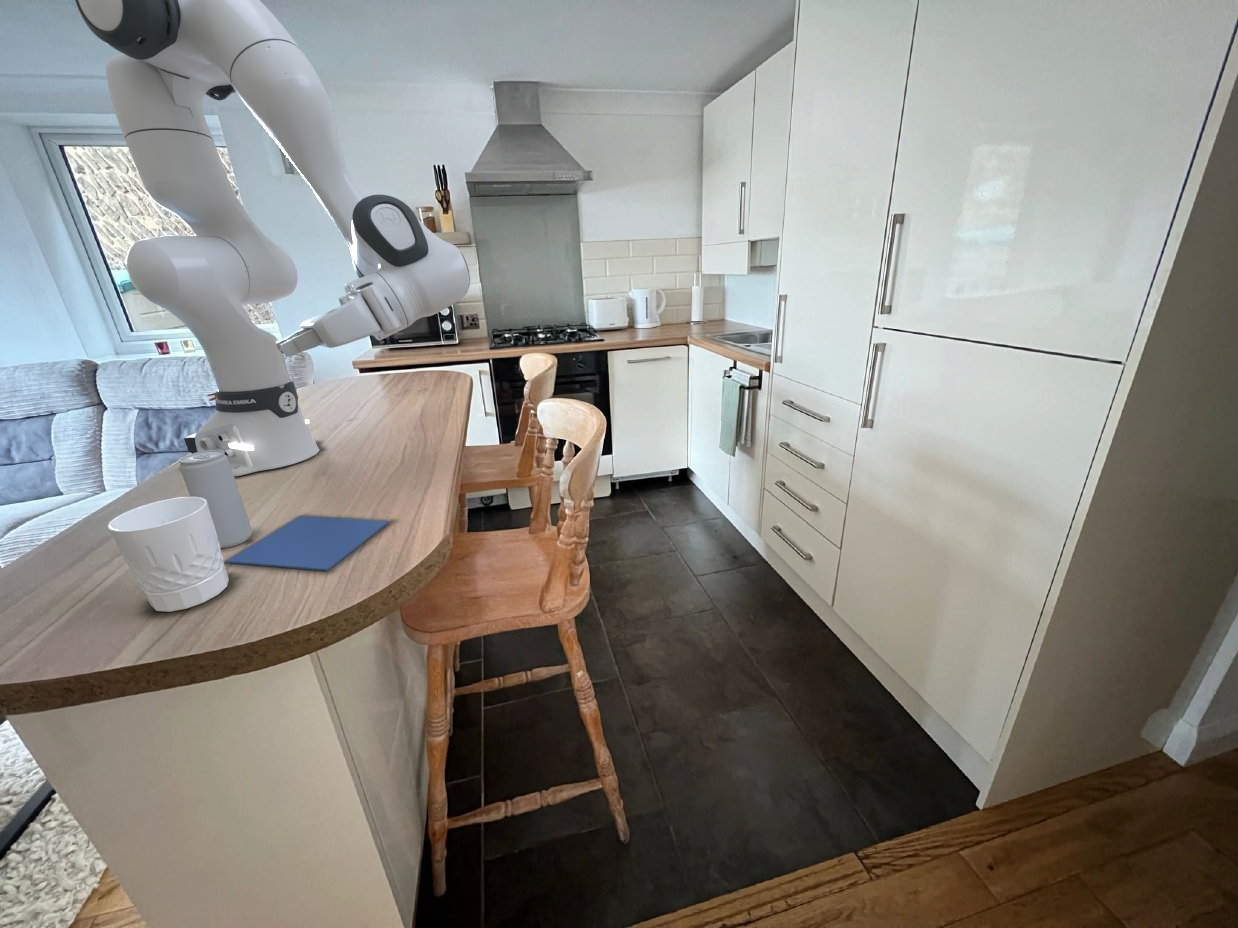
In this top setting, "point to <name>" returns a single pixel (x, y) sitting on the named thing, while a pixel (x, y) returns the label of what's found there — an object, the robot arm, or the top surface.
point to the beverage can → (217, 494)
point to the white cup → (172, 552)
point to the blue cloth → (309, 543)
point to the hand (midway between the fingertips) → (280, 350)
